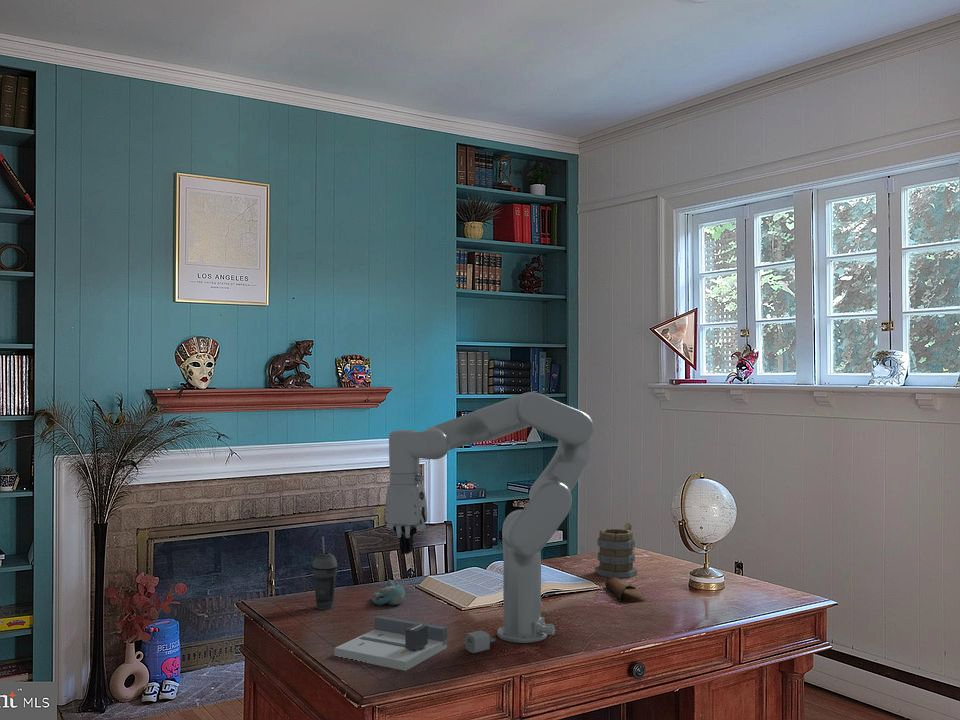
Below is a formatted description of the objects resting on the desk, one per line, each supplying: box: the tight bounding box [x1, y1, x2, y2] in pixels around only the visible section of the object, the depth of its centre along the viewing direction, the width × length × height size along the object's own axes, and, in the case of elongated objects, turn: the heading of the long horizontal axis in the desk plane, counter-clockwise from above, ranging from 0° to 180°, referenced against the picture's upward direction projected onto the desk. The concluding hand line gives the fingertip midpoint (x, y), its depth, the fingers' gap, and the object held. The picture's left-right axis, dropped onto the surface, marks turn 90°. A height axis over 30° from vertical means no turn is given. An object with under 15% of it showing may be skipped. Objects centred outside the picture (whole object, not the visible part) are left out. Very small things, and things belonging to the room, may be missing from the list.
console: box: [334, 615, 448, 672], centre depth 201 cm, size 20×18×5 cm
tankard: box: [594, 522, 638, 579], centre depth 282 cm, size 20×13×15 cm, turn 147°
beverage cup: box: [311, 535, 339, 611], centre depth 239 cm, size 7×7×20 cm
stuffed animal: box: [371, 579, 406, 606], centre depth 244 cm, size 11×7×12 cm
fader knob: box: [405, 624, 428, 650], centre depth 198 cm, size 3×5×4 cm, turn 152°
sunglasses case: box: [605, 577, 648, 604], centre depth 253 cm, size 18×7×7 cm
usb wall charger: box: [464, 630, 497, 654], centre depth 203 cm, size 4×7×4 cm, turn 125°
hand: (406, 552), depth 211 cm, fingers closed
